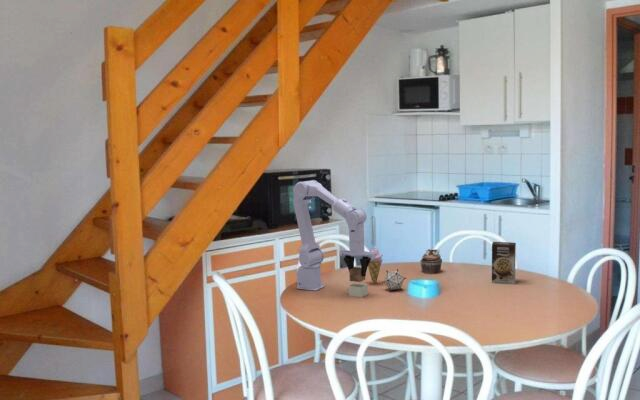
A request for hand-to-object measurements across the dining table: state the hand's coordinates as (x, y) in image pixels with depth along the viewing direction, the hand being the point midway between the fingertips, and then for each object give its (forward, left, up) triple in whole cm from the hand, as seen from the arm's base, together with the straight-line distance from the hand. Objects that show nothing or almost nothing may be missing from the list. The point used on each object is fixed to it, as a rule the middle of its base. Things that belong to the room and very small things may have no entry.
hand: (357, 275), depth 224 cm
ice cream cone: (-1, +18, -8) cm, 20 cm away
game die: (+10, +12, -8) cm, 18 cm away
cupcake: (+13, +47, -8) cm, 49 cm away
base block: (0, 0, -8) cm, 8 cm away
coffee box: (+46, +41, -8) cm, 62 cm away
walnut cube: (0, 0, -2) cm, 2 cm away
